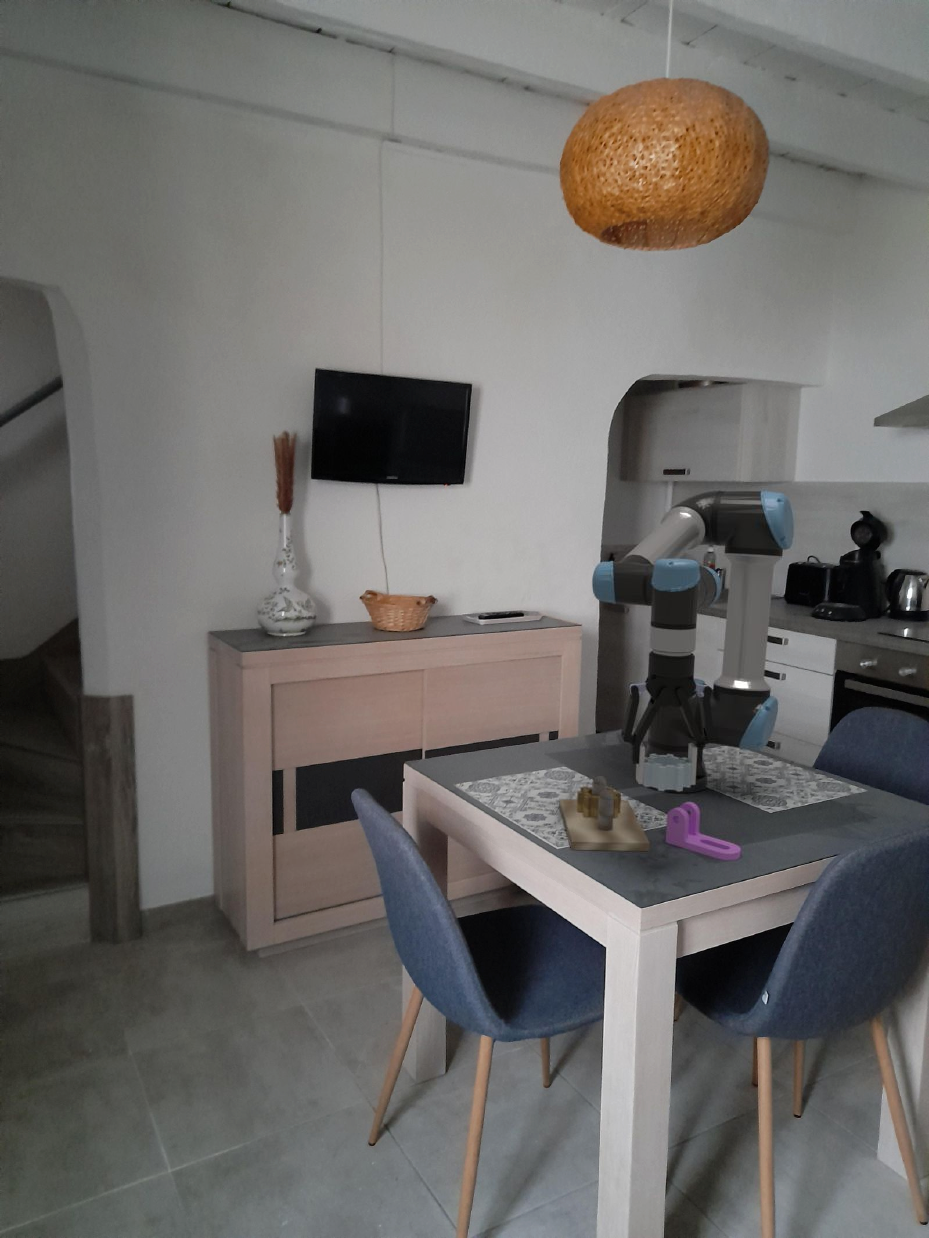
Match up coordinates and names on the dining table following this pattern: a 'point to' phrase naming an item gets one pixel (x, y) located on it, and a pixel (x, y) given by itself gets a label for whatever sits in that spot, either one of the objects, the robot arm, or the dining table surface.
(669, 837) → the bracket
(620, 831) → the gear board
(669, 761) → the gear
